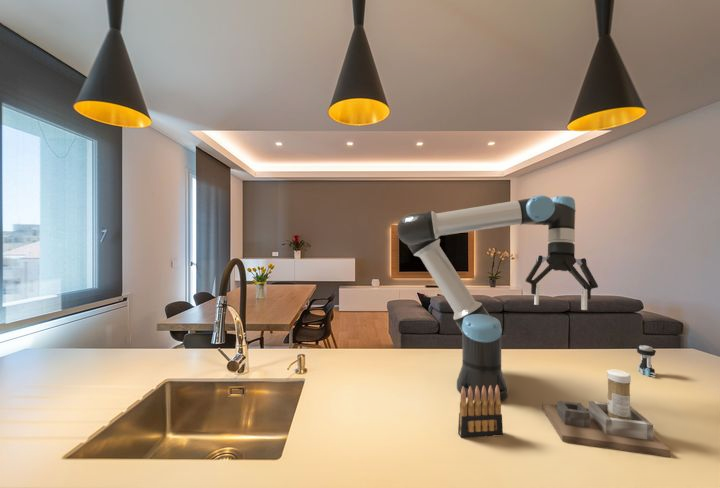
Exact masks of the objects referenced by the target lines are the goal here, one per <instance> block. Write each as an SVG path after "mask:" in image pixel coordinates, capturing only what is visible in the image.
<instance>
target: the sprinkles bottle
mask: <svg viewBox="0 0 720 488" xmlns="http://www.w3.org/2000/svg"><path fill="white" fill-rule="evenodd" d="M606 378H607V403H608V417H610V418H618V419H627V420H630V406H631V394H630V392H631V389H630V388H631V387H630V384H631V382H632V381H631V379H632V378H631V374H630V373H628V372H627V371H624V370H621V369H615V368H614V369H612V368H611V369H610V368H609V369H607V370H606Z"/></svg>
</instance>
